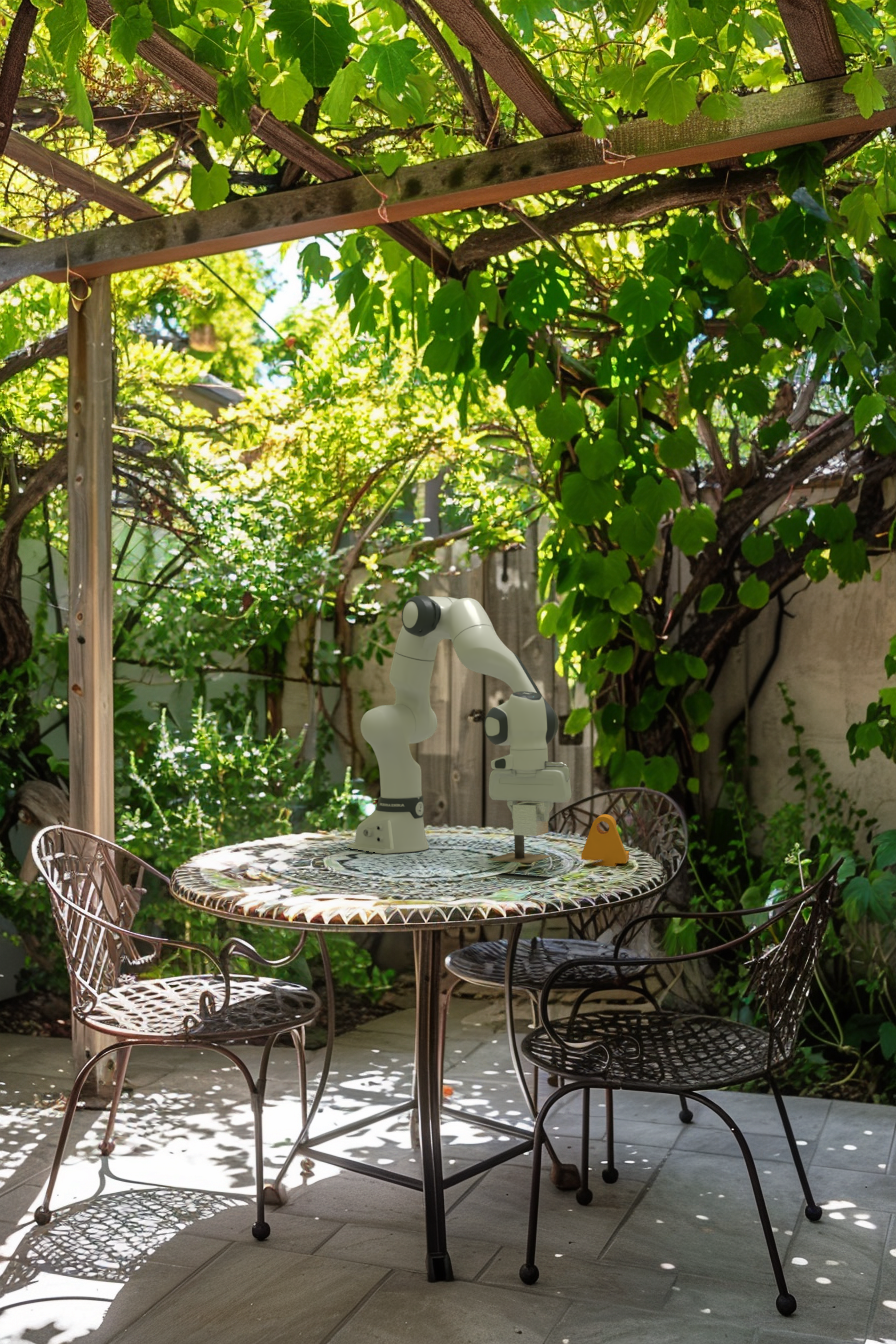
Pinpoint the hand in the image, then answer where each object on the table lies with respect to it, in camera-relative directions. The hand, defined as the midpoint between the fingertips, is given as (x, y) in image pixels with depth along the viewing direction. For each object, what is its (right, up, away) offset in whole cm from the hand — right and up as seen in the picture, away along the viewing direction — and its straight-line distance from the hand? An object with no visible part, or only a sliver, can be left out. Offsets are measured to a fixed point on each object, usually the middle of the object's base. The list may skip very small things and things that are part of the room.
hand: (530, 820), depth 289 cm
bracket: (+19, -13, +14) cm, 27 cm away
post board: (-2, -13, +16) cm, 21 cm away
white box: (0, -3, 0) cm, 3 cm away
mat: (0, -13, 0) cm, 13 cm away
